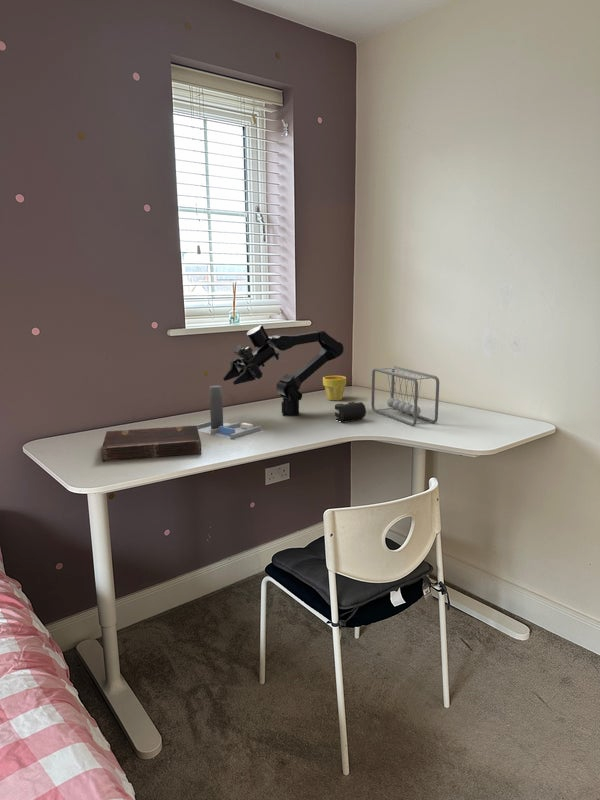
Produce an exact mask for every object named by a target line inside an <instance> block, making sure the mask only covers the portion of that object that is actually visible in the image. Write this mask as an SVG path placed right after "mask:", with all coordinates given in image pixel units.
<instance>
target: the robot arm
mask: <svg viewBox="0 0 600 800" xmlns="http://www.w3.org/2000/svg"><path fill="white" fill-rule="evenodd" d="M246 336H247V338H248V339H249V341H250V342H251V344H252V346H253V348H257V350H255V351H253V348H252V347H250V346H246V347H245V346H243V345H240V344H238V345H237V346H236V348H235V349H234V351H233V353H234V354H236V355H237V356H238V357H240V358H236V357H233V358H232V359H230V363H229V364H230V368H229V369H228V371H227V373H226V374H225V375H224V377H223V378H222V380H223V381H224V382H226V381H229V380H232V379H234V380H233V381H232V384H233V385H234V386H235V385H240V384H243V383H249V382H253V381H259V380H260V379H261V378H262V377H263V372H262V371H261V368H264V367H265V366H266V365H265V364H267V362H269V361H270V360H271V359H273V360H276V361H279V358H280V357H279V355H280V353H279V352H276V350H277V351H281V352H283V351H286V350H290V349H292V348H294V347H295V346H298V345H303V344H310V343H317V344H319V346H320V348H319V349H320V350H319V352H318V353H317V354H316V355H315V356H314V357H313V358H311V359H310V360H309V361H308V362H307V363H306V364H304V365H303V366H301V368H300V369H299V370H297V371H296V372H295V373H293V374H292V375H291V374H289V373H285V375H283V377H282V378H279V379H278V382H277V383H276V392H277V393H278V394H279V396H280V398H282V401H281V413H282V416H300V401H301V400H302V398H303V393H301V391H299V390H300V388H301V386H302V384H303V383H304V382H305V381H306V380H307V379H308V378H310V377H311V376H312V375H313V374H314V373H315V372H317V371H318V370H319V369H321V367H323V365H325V364H326V363H328V362H330V361H332V360H335V359H337V358H339V357H340V356H341V355H343V353H344V345H343V343H342V342H341V341H340V342H339V341H338V340H336V339H335V338H333V337H332V336H330V335H329V334H328V333H327V332H326V331H324V330H315V331H309V332H304V333H297V334H273V335H272V336H268V334H267V331H266V330H265V328H264V325H261V324H259V325H258V326H256V327H254V328H251V329H249V330H248V331H247V332H246Z"/></svg>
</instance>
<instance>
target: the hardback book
mask: <svg viewBox="0 0 600 800" xmlns="http://www.w3.org/2000/svg"><path fill="white" fill-rule="evenodd" d="M195 425H196V426H193V425H182V426H168V427H167V426H166V427H153V428H152V427H151V428H137V429H136V428H135V429H125V430H124V429H121V430H108V431H106V432H105V436H104V440H103V442H102V446H101V459H102V463H105V462H107V463H109V462H119V461H120V462H121V461H133V460H134V461H135V460H147V459H156V458H157V459H159V458H172V457H184V456H195V455H197V456H198V455H202V443H201V438H200V433H199V431H198V429H197V424H195Z"/></svg>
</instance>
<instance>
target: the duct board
mask: <svg viewBox="0 0 600 800" xmlns="http://www.w3.org/2000/svg"><path fill="white" fill-rule="evenodd" d="M241 423H242V422H241V421H237V422H234V423H229V422H224V421H223V426H219V428H216V429H211V420H209V421H206V422H202V423H198V424H197V423H196V424H194V425H192V426H196V425H197V429H198V432H200V433H204V434H210V435H213V436H216V437H217V436H218V437H222V438H227V439H231V440H235V441H238V440H241V439H244V438H248V437H251V436H254V435H257V434H261V433H263V432H265V430H262V428H261V427H262V426H261V425H257V426H253V428H250V429H245V428H241Z"/></svg>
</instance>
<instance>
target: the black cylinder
mask: <svg viewBox="0 0 600 800" xmlns="http://www.w3.org/2000/svg"><path fill="white" fill-rule="evenodd" d="M334 410H336V411H338V412H334V417H335V419H334V421H336V420H338V421H337V422H339V421H341V422H340V423H345V421H347V422H353V421H358V420H359V419H360V420H362V419H363V418H365V416H366V415H367V409H366V405H365V404H364V403H363V402H361V401H358V402H355V401H351V402H347V403H345V404H344V403H336V404H335V405H334ZM352 420H353V421H352Z"/></svg>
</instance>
